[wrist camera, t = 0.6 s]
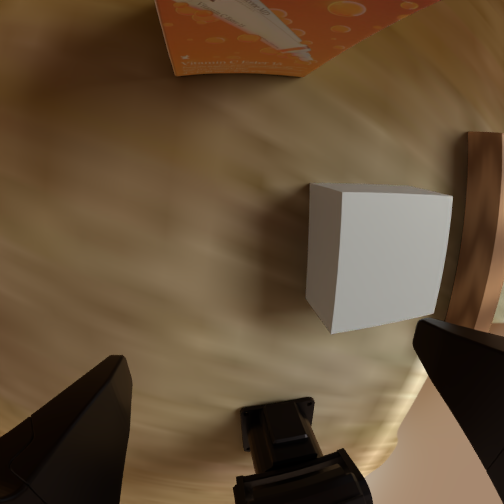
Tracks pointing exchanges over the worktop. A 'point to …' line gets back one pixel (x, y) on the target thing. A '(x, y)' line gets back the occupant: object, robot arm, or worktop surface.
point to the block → (375, 253)
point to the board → (481, 236)
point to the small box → (270, 32)
